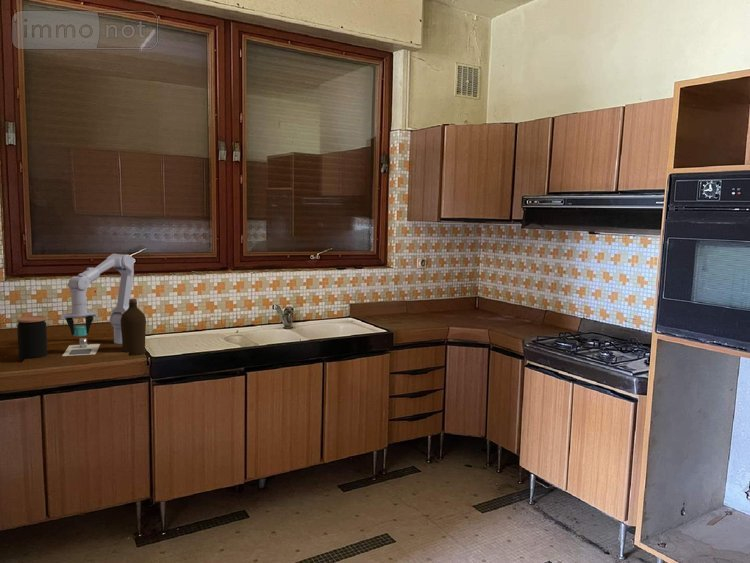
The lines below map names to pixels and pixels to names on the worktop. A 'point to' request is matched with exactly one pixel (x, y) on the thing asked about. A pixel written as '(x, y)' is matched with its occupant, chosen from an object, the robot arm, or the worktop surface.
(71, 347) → the board
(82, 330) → the cap
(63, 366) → the worktop surface
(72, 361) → the worktop surface
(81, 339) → the post
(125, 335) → the olive oil
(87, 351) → the pad
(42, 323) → the coffee jar
